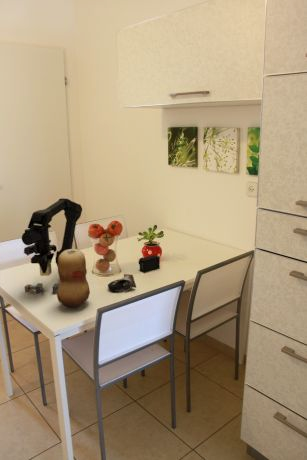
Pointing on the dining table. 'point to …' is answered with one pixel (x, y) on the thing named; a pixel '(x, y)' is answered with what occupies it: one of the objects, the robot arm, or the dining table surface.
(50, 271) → the coupler
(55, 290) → the shaft rig
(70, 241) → the robot arm
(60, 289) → the butternut squash
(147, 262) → the digital camera
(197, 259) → the dining table surface
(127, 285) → the caster wheel
